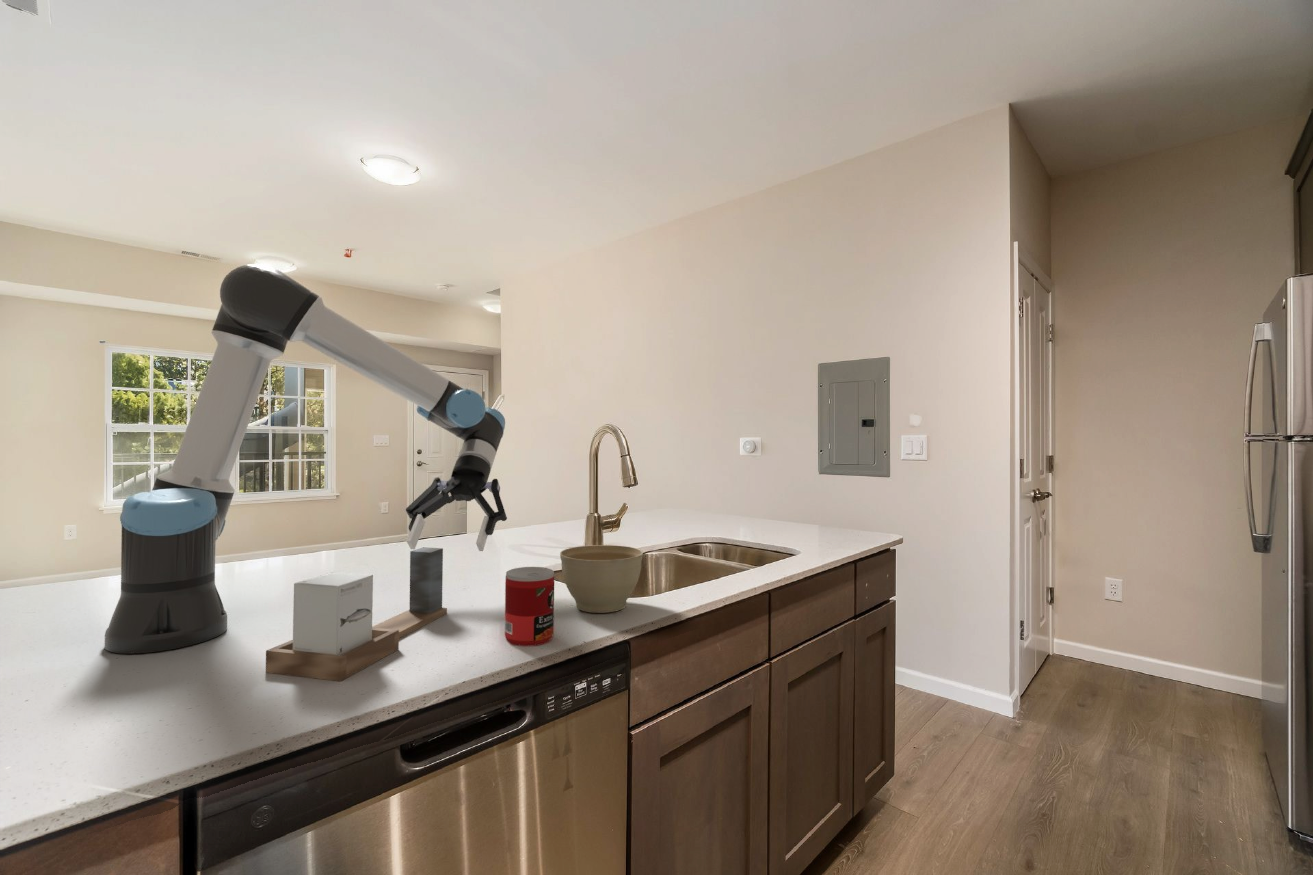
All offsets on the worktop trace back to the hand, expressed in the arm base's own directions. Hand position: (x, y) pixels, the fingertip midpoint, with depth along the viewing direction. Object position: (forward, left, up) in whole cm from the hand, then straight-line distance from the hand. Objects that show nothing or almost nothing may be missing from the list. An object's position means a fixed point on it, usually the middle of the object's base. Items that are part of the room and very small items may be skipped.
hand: (444, 546), depth 113 cm
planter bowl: (+29, +8, -12) cm, 33 cm away
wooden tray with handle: (0, -19, -11) cm, 23 cm away
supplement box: (+1, -30, -12) cm, 32 cm away
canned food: (+23, -12, -12) cm, 29 cm away
